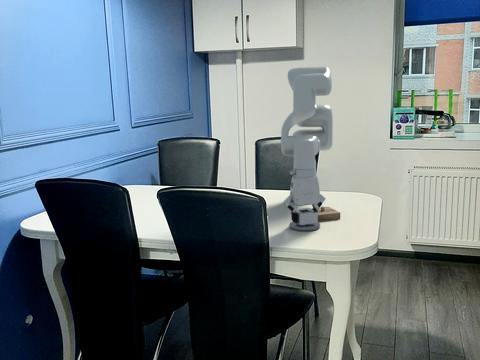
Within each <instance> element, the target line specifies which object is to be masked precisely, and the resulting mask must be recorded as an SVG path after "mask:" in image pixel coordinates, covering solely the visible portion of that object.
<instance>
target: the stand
mask: <svg viewBox="0 0 480 360" xmlns="http://www.w3.org/2000/svg"><path fill="white" fill-rule="evenodd" d="M310 208H311V209H313V207H310ZM333 220H341V211H338V210H336V209H334V208H332V207H330V206H320V208H319V210H318V222H325V221H333Z"/></svg>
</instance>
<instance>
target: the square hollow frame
mask: <svg viewBox="0 0 480 360" xmlns="http://www.w3.org/2000/svg"><path fill="white" fill-rule="evenodd" d="M311 208H312V207H306V208H305V207H304V208H297V210H296V212H297V224H299V225H306V224H314V223H318V222H319V221H318V212H316V211H314V210H312V209H311Z"/></svg>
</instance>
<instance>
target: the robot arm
mask: <svg viewBox="0 0 480 360" xmlns="http://www.w3.org/2000/svg"><path fill="white" fill-rule="evenodd" d="M332 80H333V79H332V72H331V70H330V68H329V67H327V66H314V67H313V66H311V67H310V66H306V67H294V68H290V69H289V70H288V72H287V81H288V83H289V86H290V87H291V90H292V92H293V95H292V96H293V99H292V101H293V103H292V107H293V109H292V112H291V113H289V115H287V117H286V119H285V120H284V122H283V124H282V127H281V132H280V134H281V135H280V137H281V138H280V148H281V149H280V150H281V152H282V154H283V155H284V156H285V157H286V156H287V157H293V169H292V170H290V171H289V175H291V176H292V177H291V181H290V182H291V183H290V191H289V195H288V196H287V197H286V198H285V199H284V200H283V201H282V203H283V204H284V205H285V207H286V208H287V209H288V210H289V211H291V212H290V213H291V222H294V223H297V212H296V210H297V209H299V207H301V206H302V207H303V206H304V207H305V206H312V208H313V209H312V210H314V211H316V212H318V210H319V208H321V207H322V206H323V203H324V202H325V200H326V197H324V195H322V194H321V193H320V191H321V190H320V185H319V184H320V182H319V178H318V176H317V161H316V155H318V154H319V152H320V151H321V152H323V151H325V152H326V151H329V150H331V149H332V147H333V136H334V135H333V130H334V129H333V128H334V127H333V126H334V125H333V124H334V123H333V109H332V107H331V106H330V105H327V104H316V103H317V102H316V100H317V99H316V97H319V96H321V97H324V96H326V97H327V96H328V95H330V94H331V91H332V88H333V87H332V85H333V81H332ZM295 125H297V126H298V127H300V128H304V129H297V130H296V131H294V132H293V133H292V135H289V131H290V130H291V129H292V128H293V127H294V126H295ZM305 128H306V129H305ZM317 128H318V129H317Z"/></svg>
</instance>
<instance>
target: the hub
mask: <svg viewBox="0 0 480 360" xmlns="http://www.w3.org/2000/svg"><path fill="white" fill-rule="evenodd" d="M320 228H321V223H320V221H318V223H314V224H306V225H299V224H297V223H294V222H293V221H291V222H289V229H290V230H293V231H296V232H314V231H318V230H319V229H320Z"/></svg>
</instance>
